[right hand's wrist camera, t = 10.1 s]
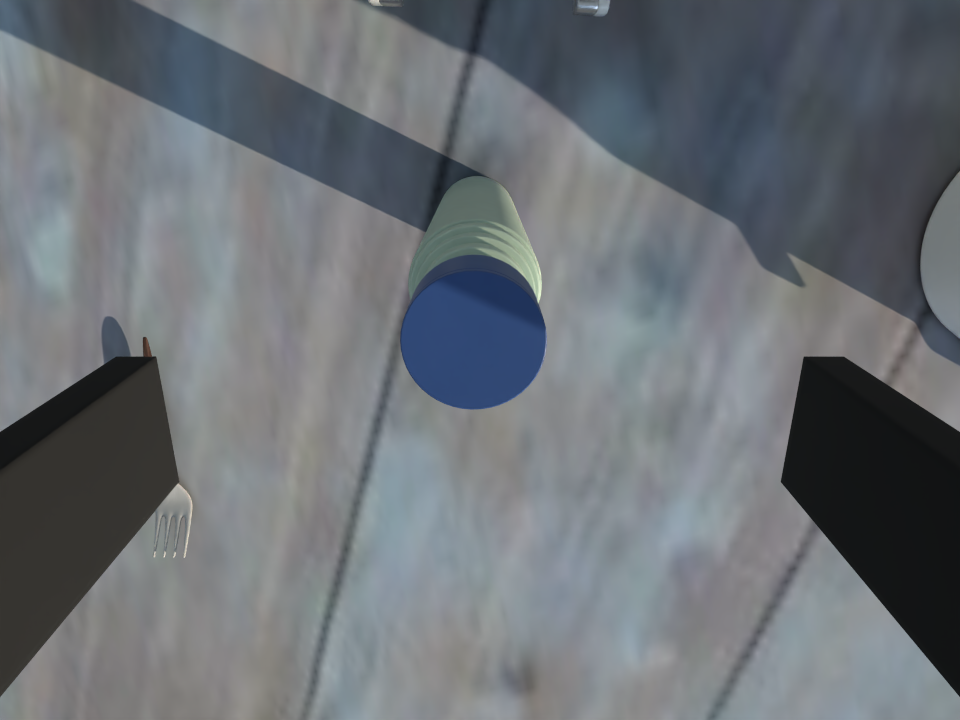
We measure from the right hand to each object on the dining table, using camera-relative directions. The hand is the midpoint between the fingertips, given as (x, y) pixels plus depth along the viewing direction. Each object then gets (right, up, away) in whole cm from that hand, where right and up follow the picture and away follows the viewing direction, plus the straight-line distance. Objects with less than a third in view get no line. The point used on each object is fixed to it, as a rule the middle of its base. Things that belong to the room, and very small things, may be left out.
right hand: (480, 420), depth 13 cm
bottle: (0, +10, +27) cm, 29 cm away
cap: (0, +2, +4) cm, 5 cm away
